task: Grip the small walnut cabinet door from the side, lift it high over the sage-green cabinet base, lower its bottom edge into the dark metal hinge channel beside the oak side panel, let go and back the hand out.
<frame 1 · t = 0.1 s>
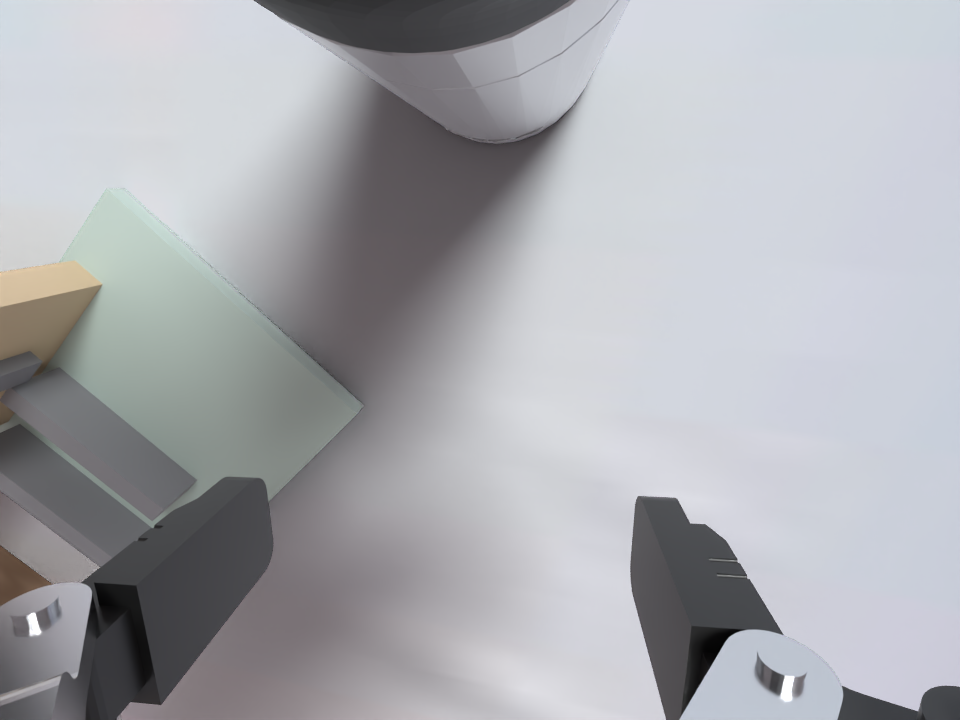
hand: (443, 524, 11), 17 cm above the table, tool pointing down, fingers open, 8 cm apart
door panel: (17, 573, 37), on the table
cabinet frame: (118, 448, 32), on the table
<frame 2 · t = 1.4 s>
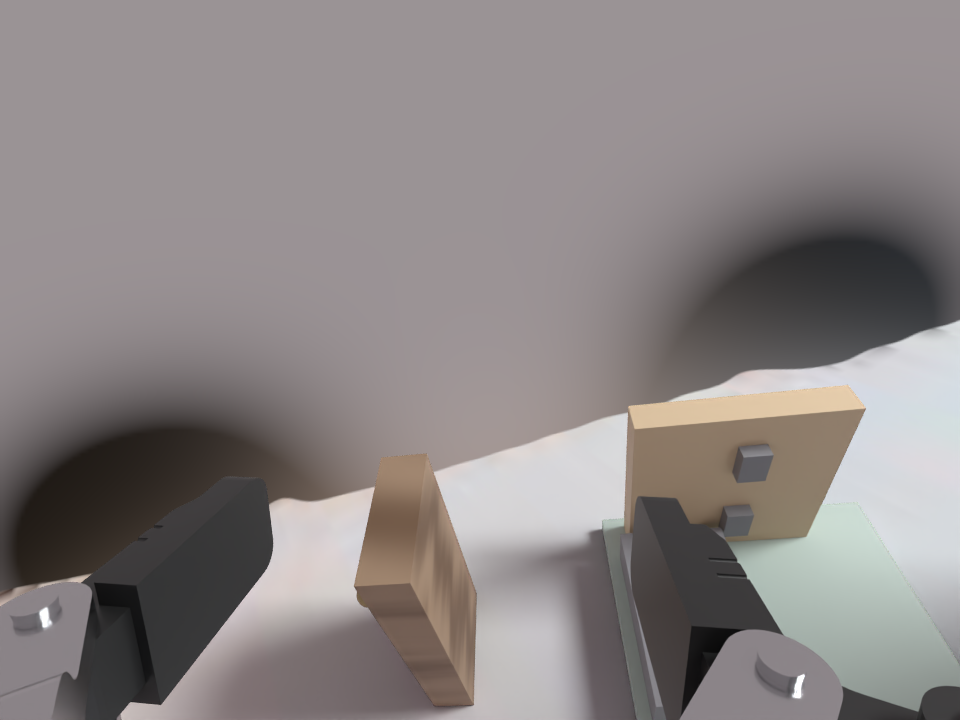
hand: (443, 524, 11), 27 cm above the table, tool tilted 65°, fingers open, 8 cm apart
door panel: (457, 645, 35), on the table
cabinet frame: (685, 635, 33), on the table
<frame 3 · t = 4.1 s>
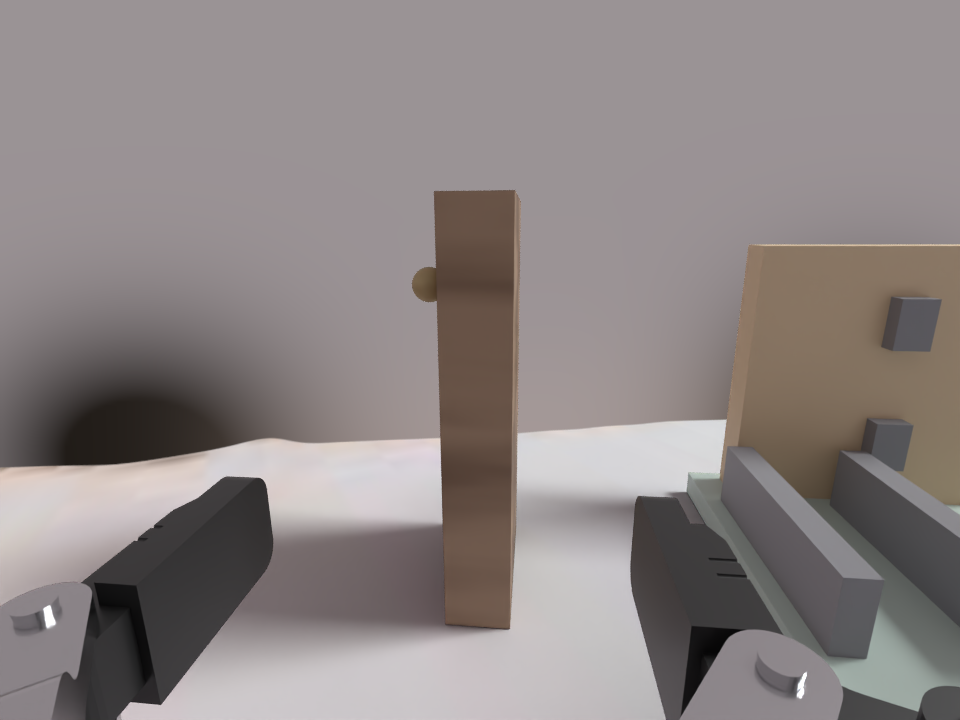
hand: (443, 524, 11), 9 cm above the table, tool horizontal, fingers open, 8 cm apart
door panel: (485, 568, 23), on the table
cabinet frame: (839, 589, 22), on the table
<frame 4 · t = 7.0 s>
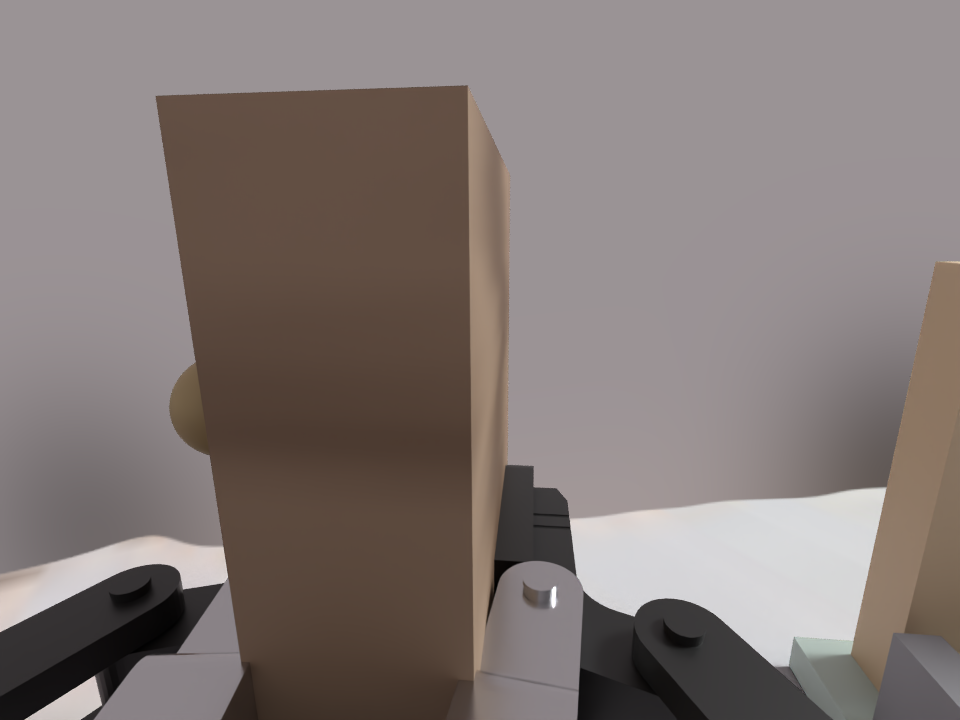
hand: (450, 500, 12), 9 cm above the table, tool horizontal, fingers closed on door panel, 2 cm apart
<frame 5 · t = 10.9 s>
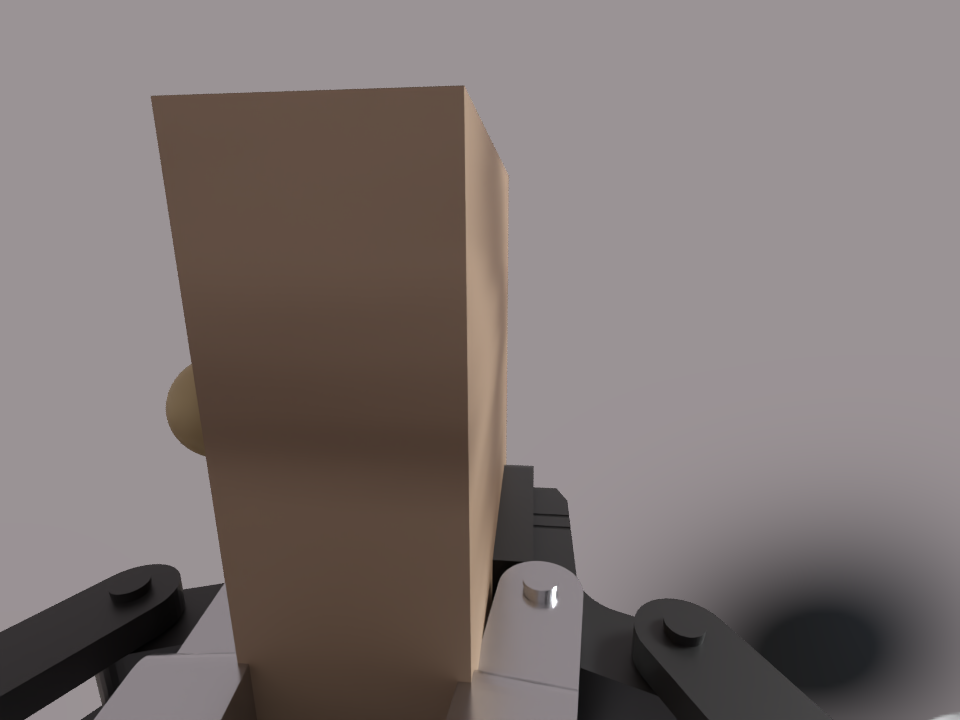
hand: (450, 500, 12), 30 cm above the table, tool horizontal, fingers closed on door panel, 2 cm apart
when the fingers open (13 cm above the table, at t = 14.6 s): door panel drops 2 cm, resting on cabinet frame.
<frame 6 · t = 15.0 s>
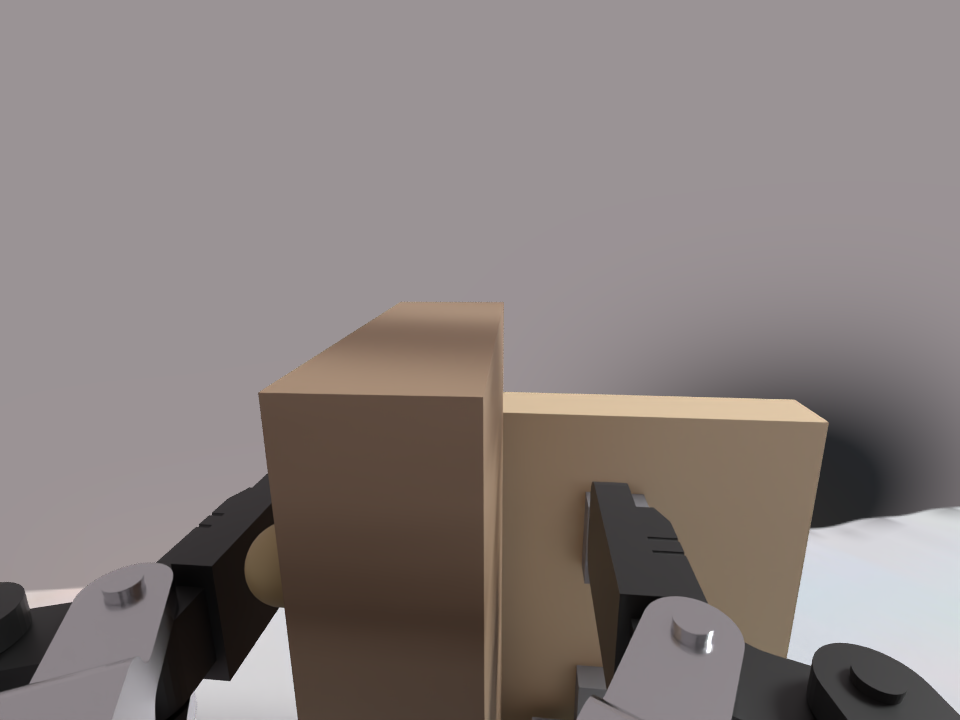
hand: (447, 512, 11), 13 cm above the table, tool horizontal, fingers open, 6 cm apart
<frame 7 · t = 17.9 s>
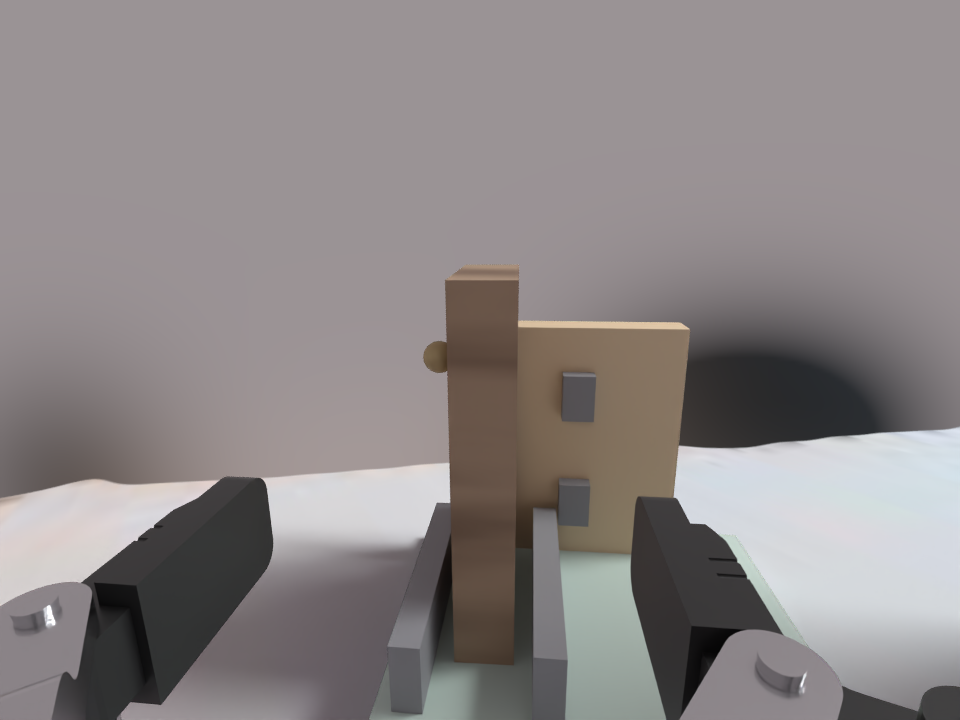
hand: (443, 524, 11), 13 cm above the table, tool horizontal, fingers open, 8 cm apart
door panel: (488, 604, 25), point 1 cm above the table, touching cabinet frame
cabinet frame: (488, 640, 24), on the table
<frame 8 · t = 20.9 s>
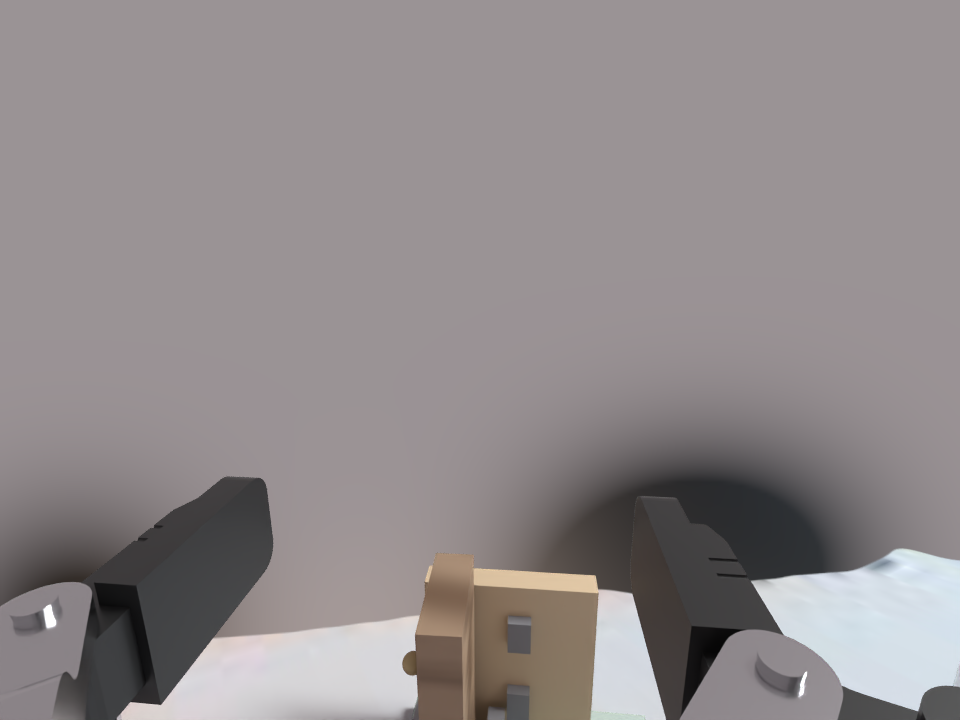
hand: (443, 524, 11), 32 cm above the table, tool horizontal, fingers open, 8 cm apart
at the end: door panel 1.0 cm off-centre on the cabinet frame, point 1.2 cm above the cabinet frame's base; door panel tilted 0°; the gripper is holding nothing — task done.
